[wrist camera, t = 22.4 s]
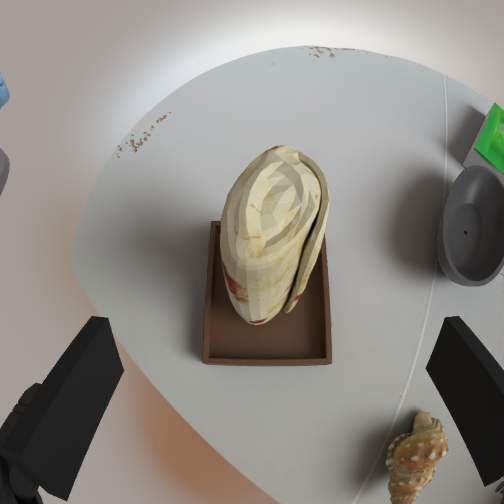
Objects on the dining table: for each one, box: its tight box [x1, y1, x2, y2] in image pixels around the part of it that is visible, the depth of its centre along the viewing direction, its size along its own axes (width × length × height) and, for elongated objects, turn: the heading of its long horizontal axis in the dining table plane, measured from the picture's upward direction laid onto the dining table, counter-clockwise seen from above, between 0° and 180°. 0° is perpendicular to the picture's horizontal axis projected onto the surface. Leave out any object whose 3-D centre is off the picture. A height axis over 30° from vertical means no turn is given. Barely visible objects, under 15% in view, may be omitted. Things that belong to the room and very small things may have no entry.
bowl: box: [437, 165, 504, 286], centre depth 35 cm, size 12×22×6 cm, turn 140°
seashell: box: [385, 412, 449, 504], centre depth 24 cm, size 9×8×10 cm
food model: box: [220, 145, 330, 325], centre depth 25 cm, size 10×7×20 cm
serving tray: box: [202, 221, 332, 366], centre depth 34 cm, size 13×16×3 cm
